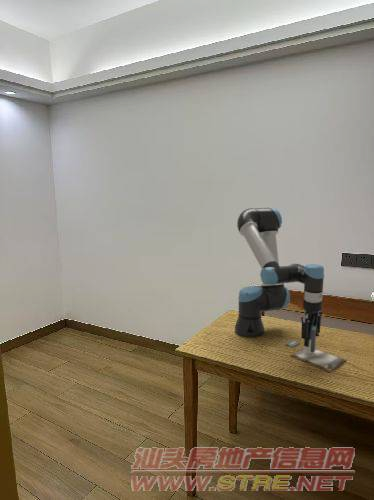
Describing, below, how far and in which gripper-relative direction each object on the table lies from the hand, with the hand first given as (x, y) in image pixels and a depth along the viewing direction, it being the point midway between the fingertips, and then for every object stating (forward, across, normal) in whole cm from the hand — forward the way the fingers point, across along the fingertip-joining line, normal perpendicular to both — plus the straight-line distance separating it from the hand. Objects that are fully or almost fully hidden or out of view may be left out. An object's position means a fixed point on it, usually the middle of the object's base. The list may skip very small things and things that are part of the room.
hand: (309, 351), depth 147 cm
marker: (0, 0, 0) cm, 0 cm away
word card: (+2, +4, +11) cm, 12 cm away
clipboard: (+2, 0, -4) cm, 4 cm away
